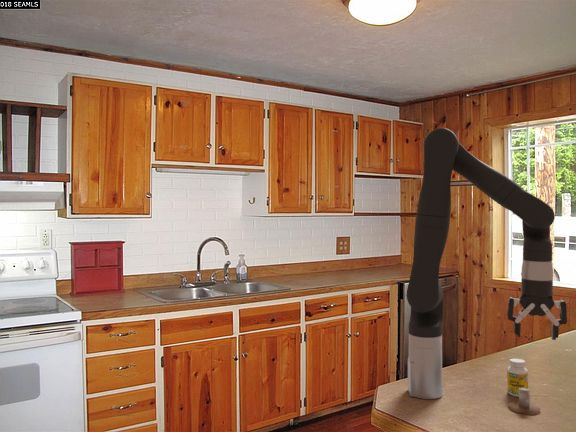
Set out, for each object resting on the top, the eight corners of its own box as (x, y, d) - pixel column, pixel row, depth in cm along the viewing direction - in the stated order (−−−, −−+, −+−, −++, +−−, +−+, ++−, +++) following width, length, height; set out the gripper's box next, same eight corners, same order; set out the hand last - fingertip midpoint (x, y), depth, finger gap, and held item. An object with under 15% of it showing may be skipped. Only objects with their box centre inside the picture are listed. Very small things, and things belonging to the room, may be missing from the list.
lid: (514, 415, 130) (513, 394, 130) (504, 403, 138) (504, 384, 138) (544, 416, 130) (544, 395, 130) (533, 404, 137) (533, 385, 137)
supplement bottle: (528, 392, 146) (528, 359, 145) (527, 398, 141) (527, 364, 141) (508, 389, 148) (508, 356, 148) (506, 395, 143) (506, 361, 143)
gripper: (509, 278, 134) (508, 339, 134) (570, 280, 130) (568, 343, 130) (506, 274, 141) (505, 332, 141) (563, 276, 137) (562, 336, 137)
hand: (535, 337), depth 136 cm, fingers open, 8 cm apart
